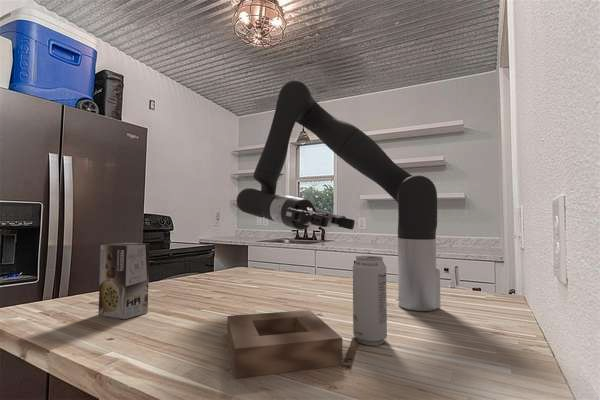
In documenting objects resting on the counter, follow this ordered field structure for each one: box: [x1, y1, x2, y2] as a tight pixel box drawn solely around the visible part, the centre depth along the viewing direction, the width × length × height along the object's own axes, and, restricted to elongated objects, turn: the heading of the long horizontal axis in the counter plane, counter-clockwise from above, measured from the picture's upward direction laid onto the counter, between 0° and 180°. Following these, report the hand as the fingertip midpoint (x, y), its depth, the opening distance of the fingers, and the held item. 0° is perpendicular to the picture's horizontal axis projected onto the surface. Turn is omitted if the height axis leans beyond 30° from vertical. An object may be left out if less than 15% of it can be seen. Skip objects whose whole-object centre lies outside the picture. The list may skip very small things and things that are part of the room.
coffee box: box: [98, 242, 151, 320], centre depth 76 cm, size 9×6×16 cm
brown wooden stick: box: [341, 336, 359, 370], centre depth 54 cm, size 13×1×1 cm, turn 164°
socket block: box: [226, 309, 343, 379], centre depth 55 cm, size 16×16×4 cm
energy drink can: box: [352, 255, 388, 346], centre depth 60 cm, size 6×6×15 cm
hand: (340, 223), depth 69 cm, fingers open, 8 cm apart
